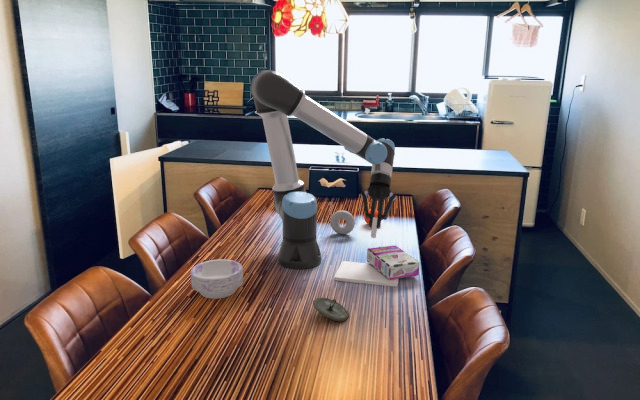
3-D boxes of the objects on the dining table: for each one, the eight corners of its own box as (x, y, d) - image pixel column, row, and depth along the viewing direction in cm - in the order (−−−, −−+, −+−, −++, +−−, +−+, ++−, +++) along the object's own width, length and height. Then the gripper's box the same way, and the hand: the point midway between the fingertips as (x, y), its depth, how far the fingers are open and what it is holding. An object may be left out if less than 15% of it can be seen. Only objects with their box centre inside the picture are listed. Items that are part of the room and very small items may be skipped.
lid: (313, 306, 144) (313, 290, 143) (348, 307, 144) (348, 291, 143) (312, 325, 134) (312, 308, 133) (349, 326, 134) (350, 308, 133)
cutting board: (342, 263, 175) (342, 260, 174) (400, 269, 170) (400, 266, 170) (334, 280, 162) (334, 277, 161) (397, 286, 157) (397, 283, 157)
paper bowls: (188, 286, 156) (186, 262, 154) (236, 278, 162) (235, 255, 160) (196, 308, 143) (195, 282, 140) (249, 298, 148) (248, 273, 146)
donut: (355, 234, 204) (356, 210, 202) (353, 236, 201) (354, 212, 199) (331, 231, 207) (331, 208, 204) (329, 234, 204) (329, 210, 201)
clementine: (380, 228, 212) (381, 211, 210) (364, 227, 212) (364, 211, 210) (379, 222, 220) (379, 206, 218) (363, 221, 220) (363, 206, 218)
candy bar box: (366, 261, 174) (388, 280, 159) (366, 248, 173) (389, 265, 158) (395, 258, 178) (419, 276, 163) (396, 244, 177) (420, 261, 162)
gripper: (399, 184, 185) (392, 242, 174) (363, 182, 188) (355, 239, 177) (398, 173, 179) (392, 232, 168) (362, 170, 182) (353, 229, 171)
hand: (373, 236), depth 172 cm, fingers closed
